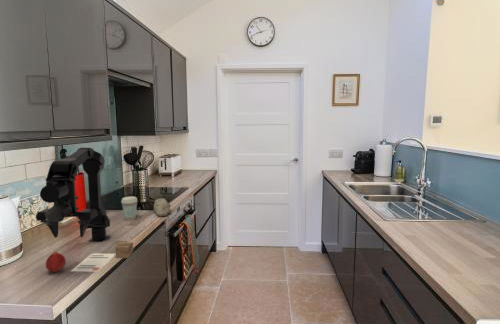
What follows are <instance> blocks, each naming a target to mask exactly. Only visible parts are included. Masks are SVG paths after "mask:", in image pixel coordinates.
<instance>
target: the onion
mask: <svg viewBox="0 0 500 324" xmlns="http://www.w3.org/2000/svg"><path fill="white" fill-rule="evenodd" d="M65 265H66V258H65V256H64V255H63V254H61V253H58V251H57V250H55V251H53V253H51V254H50V255H49V256H48V257H47V259H46V261H45V268H46V270H48V271H50V272H52V273H58V272H60V271H61V270H62V269H63V268H64V266H65Z"/></svg>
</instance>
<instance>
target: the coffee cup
mask: <svg viewBox="0 0 500 324" xmlns="http://www.w3.org/2000/svg"><path fill="white" fill-rule="evenodd" d="M120 203H121V206H122V212H123V217H124V221H133V220H135V219H137V207H138V198H137V197H136V196H133V195H132V196H125V197H122V198H121V201H120Z"/></svg>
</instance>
